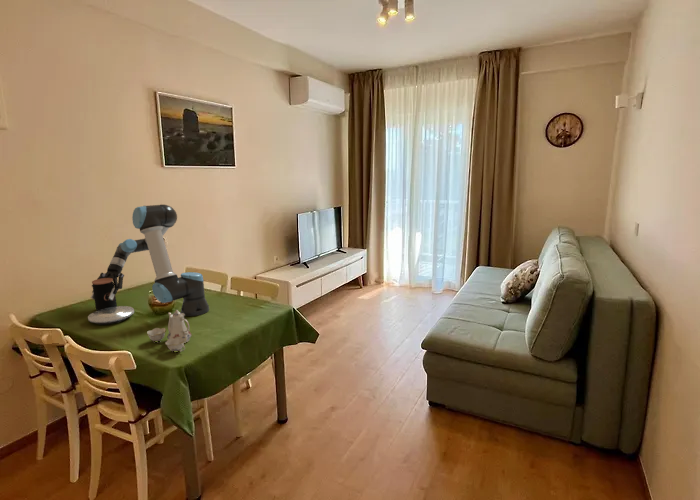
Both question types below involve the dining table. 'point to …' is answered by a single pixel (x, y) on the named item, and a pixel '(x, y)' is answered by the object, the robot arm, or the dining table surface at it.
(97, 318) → the disc
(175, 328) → the chinaware
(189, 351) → the dining table surface
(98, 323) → the turntable base
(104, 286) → the coffee jar
